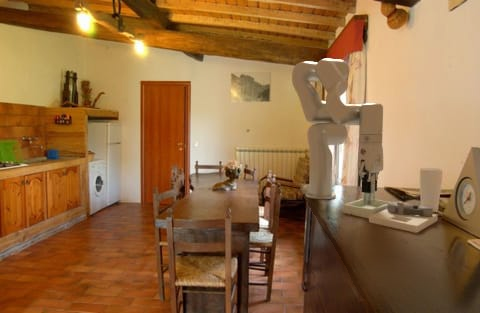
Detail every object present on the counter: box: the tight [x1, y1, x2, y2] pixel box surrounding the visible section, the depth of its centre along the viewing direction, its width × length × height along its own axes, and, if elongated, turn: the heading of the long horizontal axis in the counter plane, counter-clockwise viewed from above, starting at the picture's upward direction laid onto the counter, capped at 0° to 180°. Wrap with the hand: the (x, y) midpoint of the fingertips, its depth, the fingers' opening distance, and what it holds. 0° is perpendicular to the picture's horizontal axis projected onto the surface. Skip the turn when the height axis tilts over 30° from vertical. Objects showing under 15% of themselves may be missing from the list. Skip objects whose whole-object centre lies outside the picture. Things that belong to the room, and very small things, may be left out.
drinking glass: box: [419, 167, 443, 213], centre depth 112 cm, size 7×7×15 cm
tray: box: [343, 197, 390, 219], centre depth 112 cm, size 10×15×3 cm
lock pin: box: [363, 170, 376, 204], centre depth 112 cm, size 5×5×13 cm
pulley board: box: [368, 201, 439, 234], centre depth 101 cm, size 14×17×5 cm
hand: (369, 191), depth 112 cm, fingers closed on lock pin, 3 cm apart
